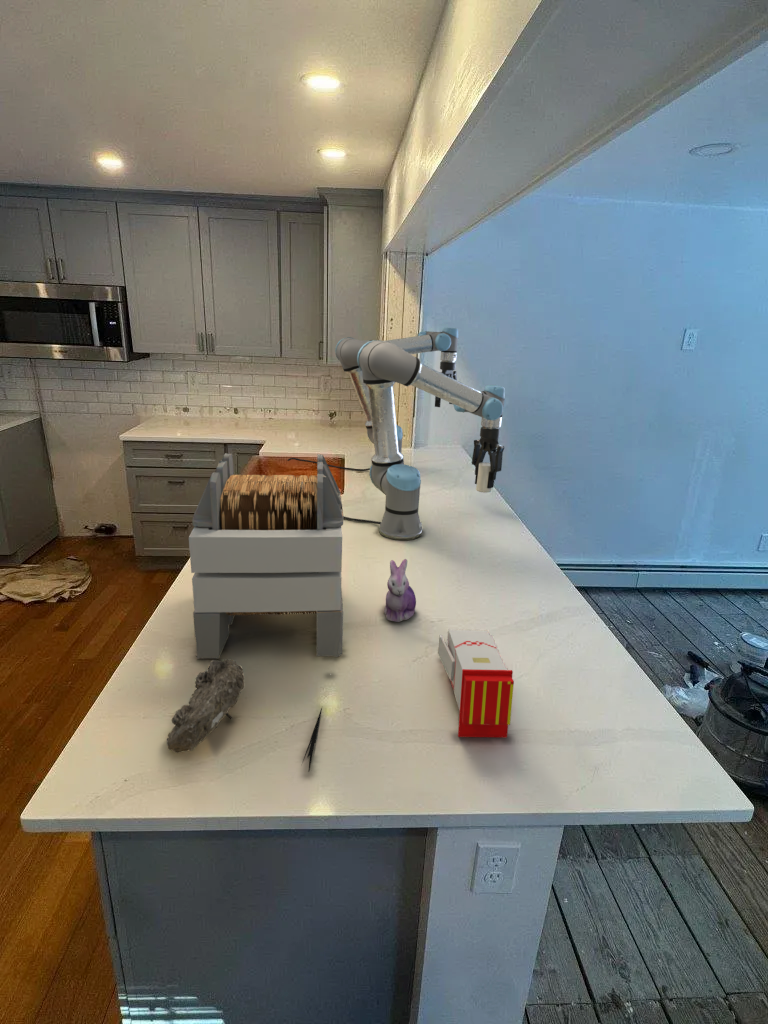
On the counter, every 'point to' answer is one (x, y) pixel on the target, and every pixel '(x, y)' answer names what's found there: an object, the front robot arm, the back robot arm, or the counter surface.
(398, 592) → the figurine
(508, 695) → the toy
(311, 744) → the feather
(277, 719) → the counter surface
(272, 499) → the transformer
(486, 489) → the canister
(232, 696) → the fossil
